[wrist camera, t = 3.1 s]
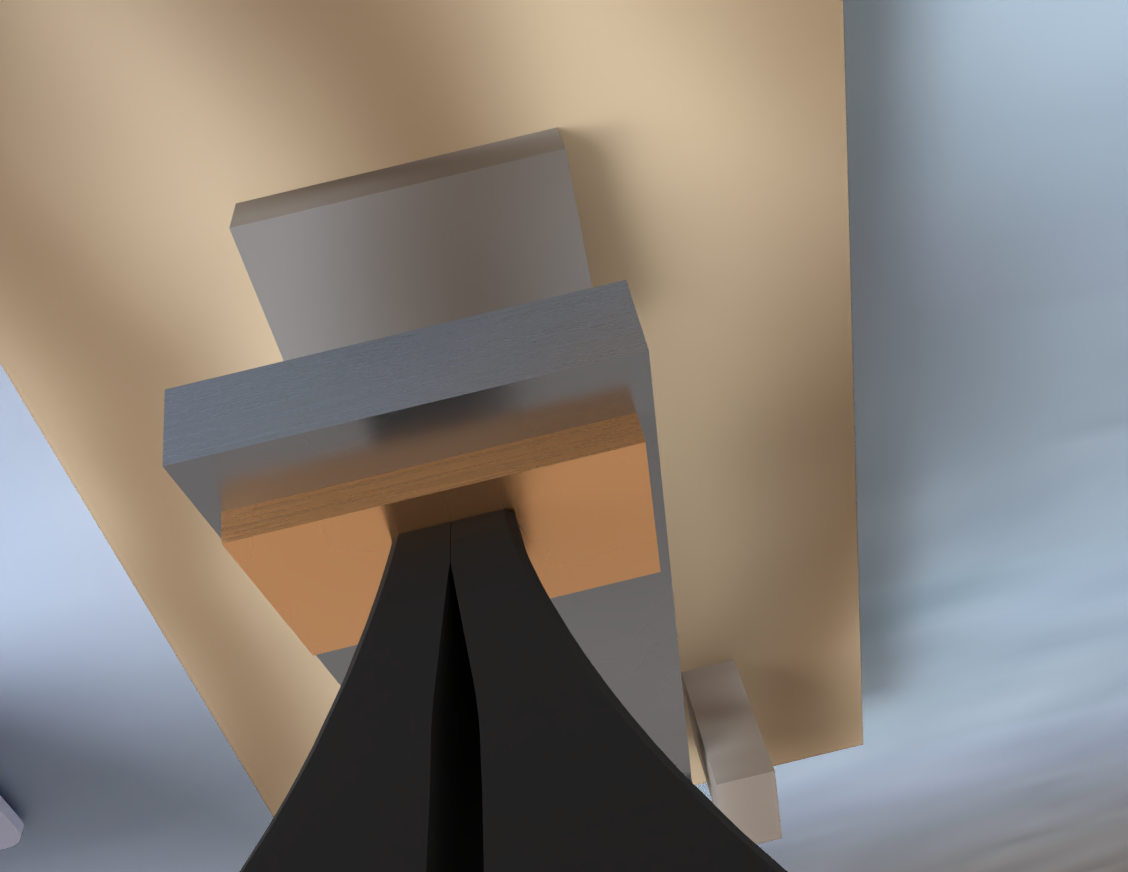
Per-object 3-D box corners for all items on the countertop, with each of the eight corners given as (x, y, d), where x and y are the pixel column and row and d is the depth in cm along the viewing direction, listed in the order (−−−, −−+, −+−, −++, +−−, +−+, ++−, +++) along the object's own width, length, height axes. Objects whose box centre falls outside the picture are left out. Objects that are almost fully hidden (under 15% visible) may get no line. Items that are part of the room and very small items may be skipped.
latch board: (314, 808, 28) (304, 1000, 24) (-199, -110, 15) (-415, -30, 11) (834, 682, 28) (912, 852, 24) (783, -340, 15) (937, -347, 11)
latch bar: (465, 792, 24) (476, 868, 23) (165, 367, 11) (161, 499, 10) (678, 740, 24) (698, 815, 23) (619, 259, 11) (658, 380, 10)
